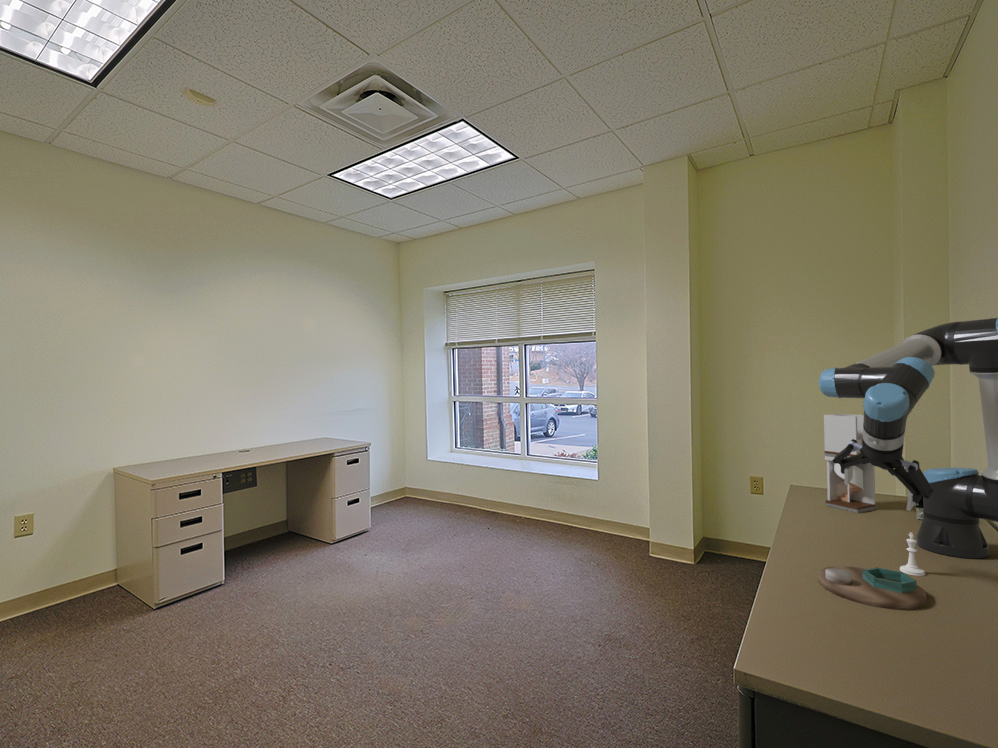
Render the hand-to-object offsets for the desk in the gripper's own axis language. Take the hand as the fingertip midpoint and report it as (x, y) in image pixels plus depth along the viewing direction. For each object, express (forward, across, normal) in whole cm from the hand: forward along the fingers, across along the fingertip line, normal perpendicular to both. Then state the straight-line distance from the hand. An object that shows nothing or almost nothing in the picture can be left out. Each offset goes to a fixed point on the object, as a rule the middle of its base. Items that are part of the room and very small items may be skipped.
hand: (878, 493), depth 124 cm
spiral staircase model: (+62, -19, +31) cm, 72 cm away
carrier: (+3, +8, -24) cm, 25 cm away
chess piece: (+16, +11, -8) cm, 21 cm away
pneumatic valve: (+58, +1, +36) cm, 69 cm away
